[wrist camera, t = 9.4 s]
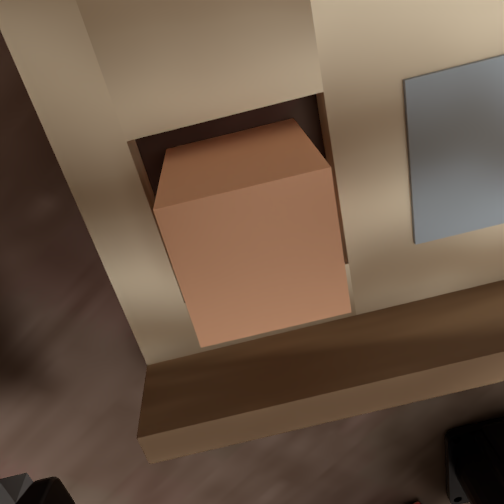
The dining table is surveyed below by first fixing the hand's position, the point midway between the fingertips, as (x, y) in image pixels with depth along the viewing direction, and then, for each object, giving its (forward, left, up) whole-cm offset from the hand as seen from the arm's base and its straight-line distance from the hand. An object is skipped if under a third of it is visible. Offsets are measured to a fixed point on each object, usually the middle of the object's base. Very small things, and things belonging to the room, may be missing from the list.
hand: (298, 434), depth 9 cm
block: (0, 0, -12) cm, 12 cm away
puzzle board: (+1, -3, -12) cm, 13 cm away
